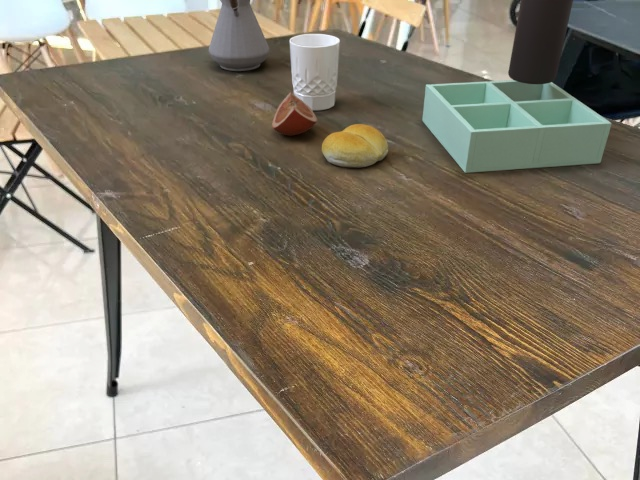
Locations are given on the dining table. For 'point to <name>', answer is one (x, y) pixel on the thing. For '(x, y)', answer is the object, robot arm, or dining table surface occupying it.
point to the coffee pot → (238, 37)
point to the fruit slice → (293, 116)
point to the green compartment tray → (513, 125)
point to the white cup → (315, 69)
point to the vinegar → (539, 40)
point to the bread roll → (355, 146)
